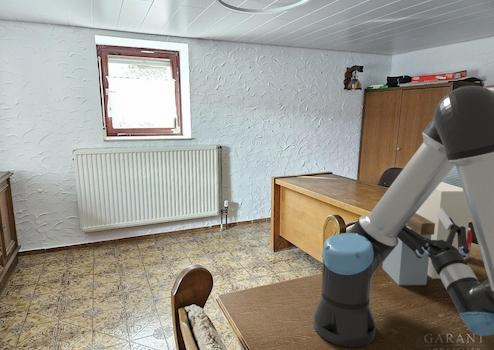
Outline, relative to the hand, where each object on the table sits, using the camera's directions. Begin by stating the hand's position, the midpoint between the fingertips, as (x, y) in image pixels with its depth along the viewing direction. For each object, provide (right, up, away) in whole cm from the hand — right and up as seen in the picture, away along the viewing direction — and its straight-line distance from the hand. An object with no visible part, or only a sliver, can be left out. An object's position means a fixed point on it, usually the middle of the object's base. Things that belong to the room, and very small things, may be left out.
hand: (417, 211), depth 98 cm
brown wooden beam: (0, -5, +6) cm, 7 cm away
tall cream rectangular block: (+14, -22, +15) cm, 30 cm away
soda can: (+29, -21, +24) cm, 43 cm away
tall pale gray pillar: (0, -23, +9) cm, 25 cm away
